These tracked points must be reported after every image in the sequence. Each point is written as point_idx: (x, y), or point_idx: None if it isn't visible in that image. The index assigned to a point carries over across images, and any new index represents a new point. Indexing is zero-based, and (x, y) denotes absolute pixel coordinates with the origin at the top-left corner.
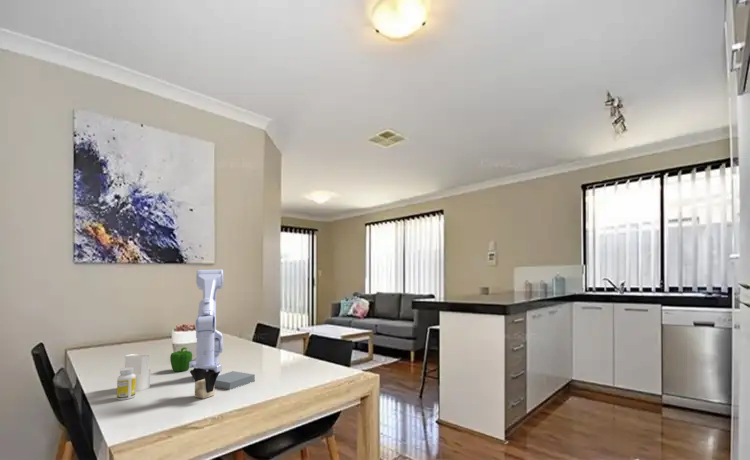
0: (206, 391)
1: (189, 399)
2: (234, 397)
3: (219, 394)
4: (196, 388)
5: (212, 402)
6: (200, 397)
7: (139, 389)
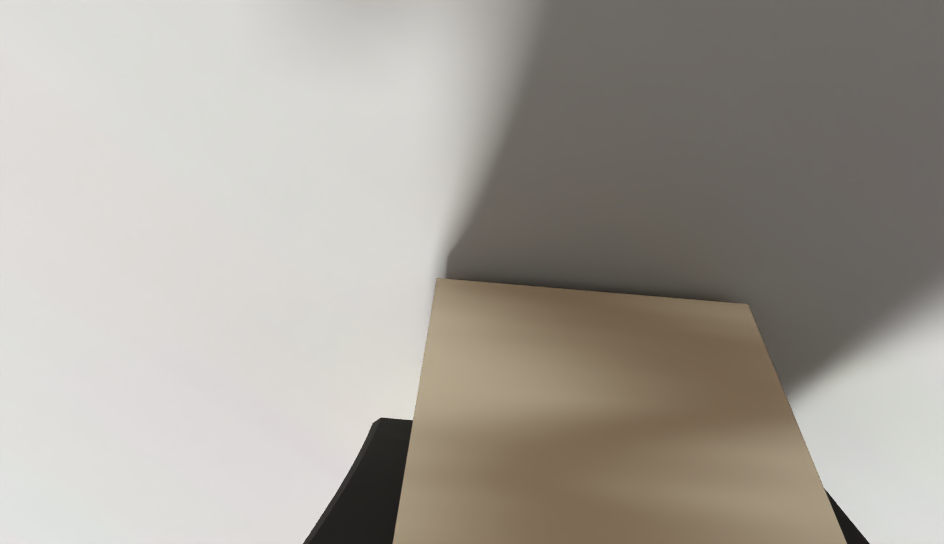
0: None
1: (772, 163)
2: (3, 506)
3: None
4: (731, 440)
5: (67, 198)
6: (543, 295)
7: None
